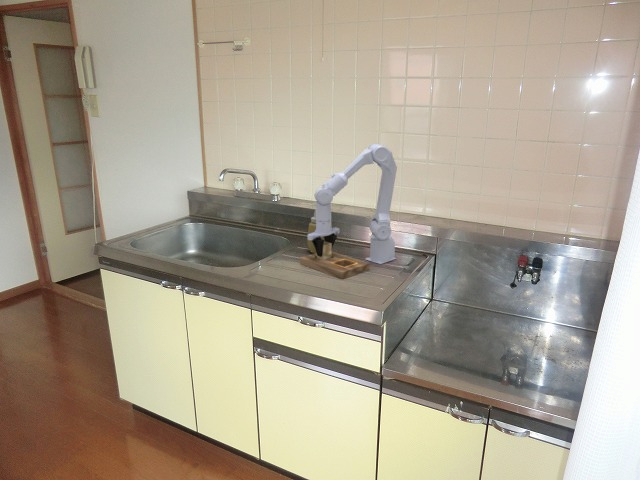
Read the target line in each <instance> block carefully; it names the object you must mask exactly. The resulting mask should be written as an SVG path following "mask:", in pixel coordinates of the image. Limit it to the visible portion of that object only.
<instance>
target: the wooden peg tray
mask: <svg viewBox="0 0 640 480" xmlns="http://www.w3.org/2000/svg"><path fill="white" fill-rule="evenodd" d="M299 265H302V266H305V267H308V268H311V269H314V270H315V271H317V272H318V271H319V272H321V273H325V274H327V275H330V276H332V277H334V278H338V279H341V280H344V279H346V278H350V277H353V276H355V275H359V274H362V273H365V272H368V271H370V270H371V263H370V262H367V261H363V260H361V259H357V258H354V257H350V256H348V255H344V254H341V253H339V252H335V251H332V258H330V259H327V260H321V259H318V258H317V253H312V254H308V255H305V256H300V257H299Z"/></svg>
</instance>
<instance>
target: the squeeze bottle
mask: <svg viewBox="0 0 640 480" xmlns="http://www.w3.org/2000/svg"><path fill="white" fill-rule="evenodd" d="M313 212H314V213H313V216H312V217H310V222H309V224H308V231H307V235H308V234H311V233H313V232H315V230H316V208H315V209H314V211H313ZM321 239H322V240H324V237H321ZM306 241H307V247H308V248H309V249H308V250H309V252H310V253H312V254H314V253H316V249H315V247H314V244H313V243H312V241H311V240H308V239H307V240H306Z"/></svg>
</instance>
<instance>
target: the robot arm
mask: <svg viewBox="0 0 640 480" xmlns="http://www.w3.org/2000/svg"><path fill="white" fill-rule="evenodd" d="M374 163H376V164H377V166H378V167H379V168H380V169H381V176H380V184H379V188H378V189H379V190H378V197H377V201H376V202H377V203H376V208H375V212H374V214H373V216H372V219H371V221H370V223H369V225H368V227H369V231H370V232H371V235H370V238H369V239H370V244H369V245H370V247H369V251H370V252H369V257H366V258H365V261H369V262H371V263H372V262H373V263H375V264H378V265H382V264H384V263H385V264H386V263H387V262H390V261H394V260H396V259H397V257H396V258H395V255H396V254H395V253H396V251H395V250H396V242H395V239H394V238H393V236H391V234H392V227H391V215H390V212H391V206H392V201H393V200H392V199H393V195H394V194H393V193H394V188H395V183H396V182H395V181H396V177H397V176H396V174H397V169H398V167H397V164H396V161H395V157H393V152H392V151H391V150H390V149H389V148H388V146H386V145H384V144H383V145H382V144H379V143H371V144H370V145H369V146H368V147H367V148H365V149H363V150H362V152H361V153H359V155H358V156H357V157H356V158H355V159H354V160H353V161H352V162H350V163H349V165H348V166H347V167H346V168H345V169H344V170H343V171H342V172H336V173H332V174H331V175H330V176H331V178H329V179H328V180H327V181H326V182H325V183H324V182H323V183H322V184H321V187H318V188H317V189H316V191H315V192H314V199H315V200H316V201H315V209H316V230H315V232H313V233H311V234H308V233H307V234H306V235H307V236H306V237H307V241H308V240H311V241H312V243H313V244H314V247H315V249H316V253H317V256H319V257H322V254H323V244H324V241H325V242H329V243H332V249H333V247H334V246H335V245H334V244H335V242H336V240H337V239H338V235H336V234H340V230H341V229H340V228H339V227H332V202H333V199H334V197H336V195H337V194H339V193H340V191H342V190H343V189H344V188H345V187H346V186H347V185H348V184H349V183H348V182H349V181H348V180H349V179H350V178H351V177H352V176H354V175H355V174H356V173H357V172H358V171H359V170H361V169H362V168H363V167H365V166H366V165H372V164H374ZM321 237H324V240H322V239H321Z"/></svg>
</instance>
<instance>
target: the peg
mask: <svg viewBox="0 0 640 480" xmlns="http://www.w3.org/2000/svg"><path fill="white" fill-rule="evenodd" d="M332 250H333V248H332V243H329V242H325V241H324V244H323V254H322V257H319V256H317V258H318V259H321V260H327V259H330V258H332V252H333V251H332Z"/></svg>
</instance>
